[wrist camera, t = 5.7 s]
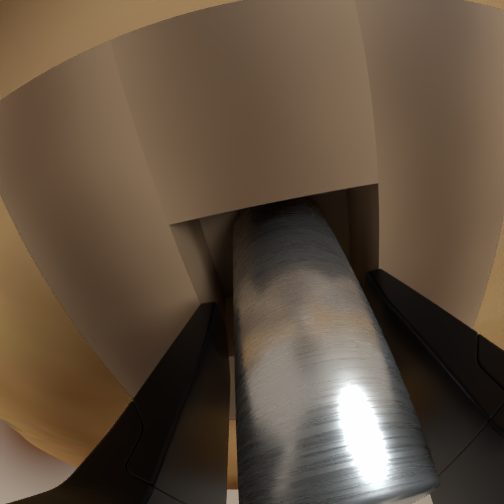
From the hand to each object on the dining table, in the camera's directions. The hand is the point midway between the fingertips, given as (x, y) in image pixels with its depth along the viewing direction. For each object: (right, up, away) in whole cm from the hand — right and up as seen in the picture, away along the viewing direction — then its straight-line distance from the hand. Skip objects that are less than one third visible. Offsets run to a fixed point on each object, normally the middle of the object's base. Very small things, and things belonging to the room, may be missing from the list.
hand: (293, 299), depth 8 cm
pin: (0, +2, +3) cm, 4 cm away
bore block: (0, +3, +4) cm, 4 cm away
